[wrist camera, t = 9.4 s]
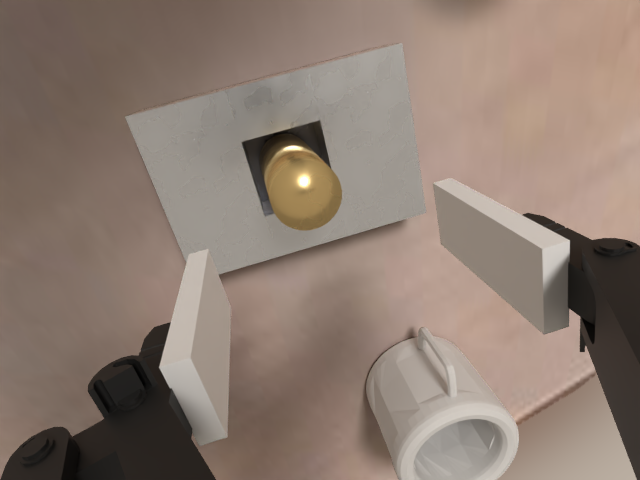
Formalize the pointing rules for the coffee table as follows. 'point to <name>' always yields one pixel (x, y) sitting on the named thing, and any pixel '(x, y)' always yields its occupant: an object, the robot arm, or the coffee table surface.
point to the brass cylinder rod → (299, 183)
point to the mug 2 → (439, 413)
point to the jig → (273, 119)
